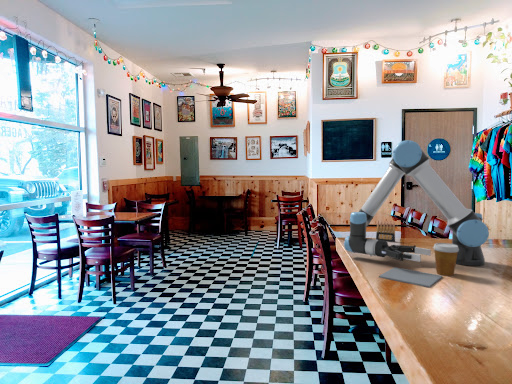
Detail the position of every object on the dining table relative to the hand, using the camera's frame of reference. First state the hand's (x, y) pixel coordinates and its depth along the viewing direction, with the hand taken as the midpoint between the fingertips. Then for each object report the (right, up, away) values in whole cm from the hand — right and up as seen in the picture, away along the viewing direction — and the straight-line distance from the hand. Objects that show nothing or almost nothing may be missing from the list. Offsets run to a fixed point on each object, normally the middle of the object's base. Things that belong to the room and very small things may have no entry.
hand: (425, 255), depth 157 cm
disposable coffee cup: (+6, -7, -4) cm, 10 cm away
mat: (-10, -7, -9) cm, 16 cm away
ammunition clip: (+5, -2, +63) cm, 63 cm away
